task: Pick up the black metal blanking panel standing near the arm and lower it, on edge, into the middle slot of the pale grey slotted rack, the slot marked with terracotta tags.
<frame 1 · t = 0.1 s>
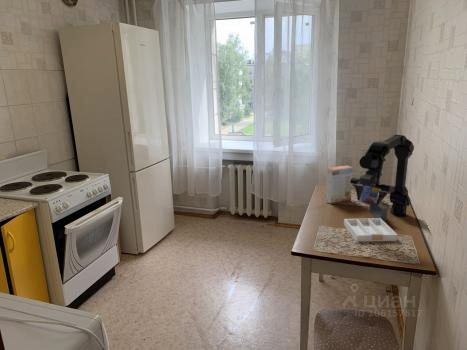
hand: (367, 202, 157), 15 cm above the table, tool pointing down, fingers open, 9 cm apart
ink cartridge box: (367, 200, 204), on the table
blanking panel: (377, 217, 179), on the table
slot rack: (368, 232, 162), on the table
cracker box: (337, 201, 204), on the table
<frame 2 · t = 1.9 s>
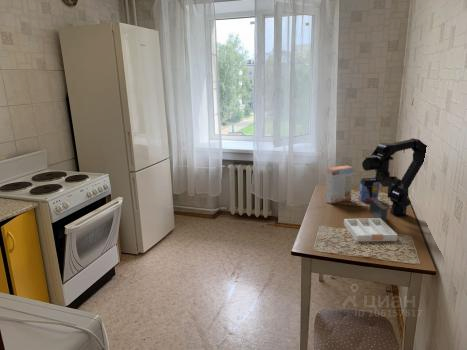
hand: (379, 197, 175), 11 cm above the table, tool pointing down, fingers open, 9 cm apart
nothing on the table moved.
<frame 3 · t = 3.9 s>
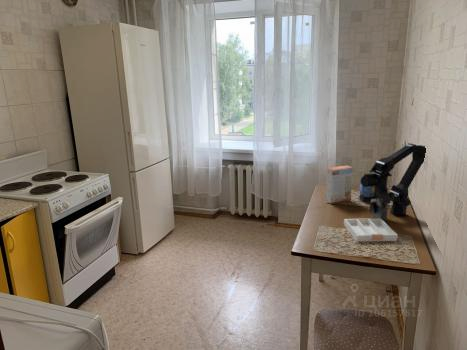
hand: (377, 213, 178), 3 cm above the table, tool pointing down, fingers closed on blanking panel, 3 cm apart
blanking panel: (377, 217, 179), on the table, touching gripper
everything else where it was.
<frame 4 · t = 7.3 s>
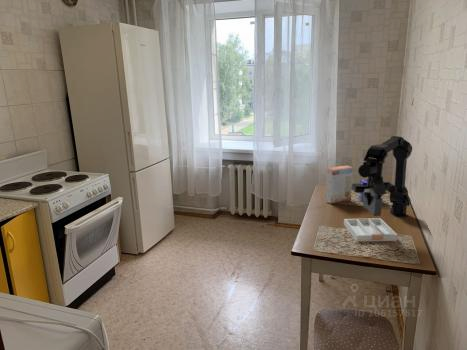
hand: (371, 205, 160), 13 cm above the table, tool pointing down, fingers closed on blanking panel, 3 cm apart
blanking panel: (371, 210, 161), point 11 cm above the table, touching gripper
everything else where it was.
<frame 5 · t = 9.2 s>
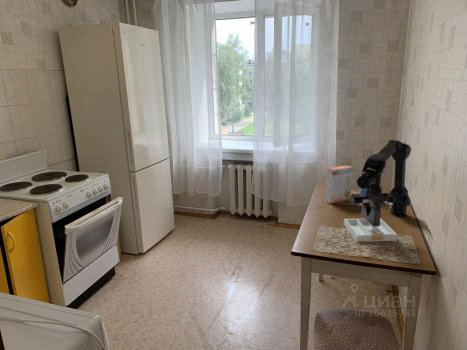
hand: (370, 215, 160), 9 cm above the table, tool pointing down, fingers closed on blanking panel, 3 cm apart
blanking panel: (370, 220, 161), point 6 cm above the table, touching gripper
everything else where it was.
when the fingers open (4 cm above the table, at t = 10.9 s): blanking panel stays where it is, resting on slot rack.
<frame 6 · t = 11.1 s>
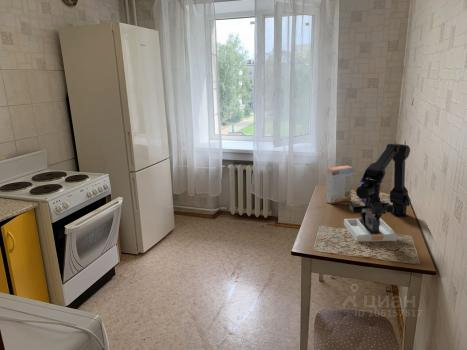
hand: (369, 224, 161), 4 cm above the table, tool pointing down, fingers open, 5 cm apart
blanking panel: (368, 231, 162), resting on slot rack
everything else where it was.
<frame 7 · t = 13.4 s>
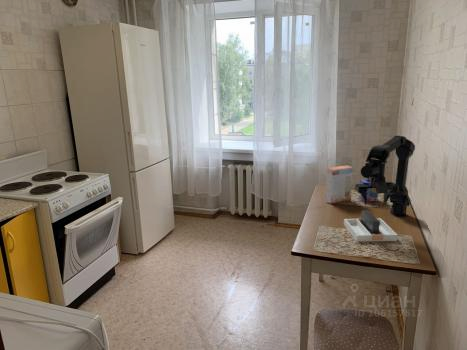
hand: (374, 204, 163), 12 cm above the table, tool pointing down, fingers open, 9 cm apart
nothing on the table moved.
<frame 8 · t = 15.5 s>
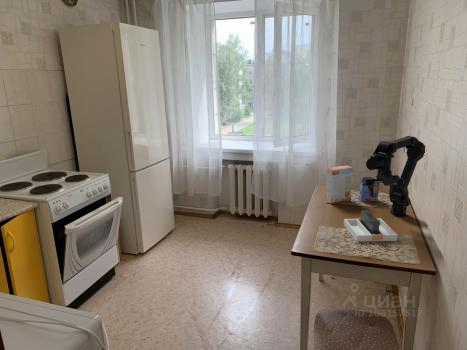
hand: (381, 197, 171), 13 cm above the table, tool pointing down, fingers open, 9 cm apart
nothing on the table moved.
at the end: blanking panel 0.1 cm off-centre on the slot rack, point 0.5 cm above the slot rack's base; blanking panel tilted 0°; the gripper is holding nothing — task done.
